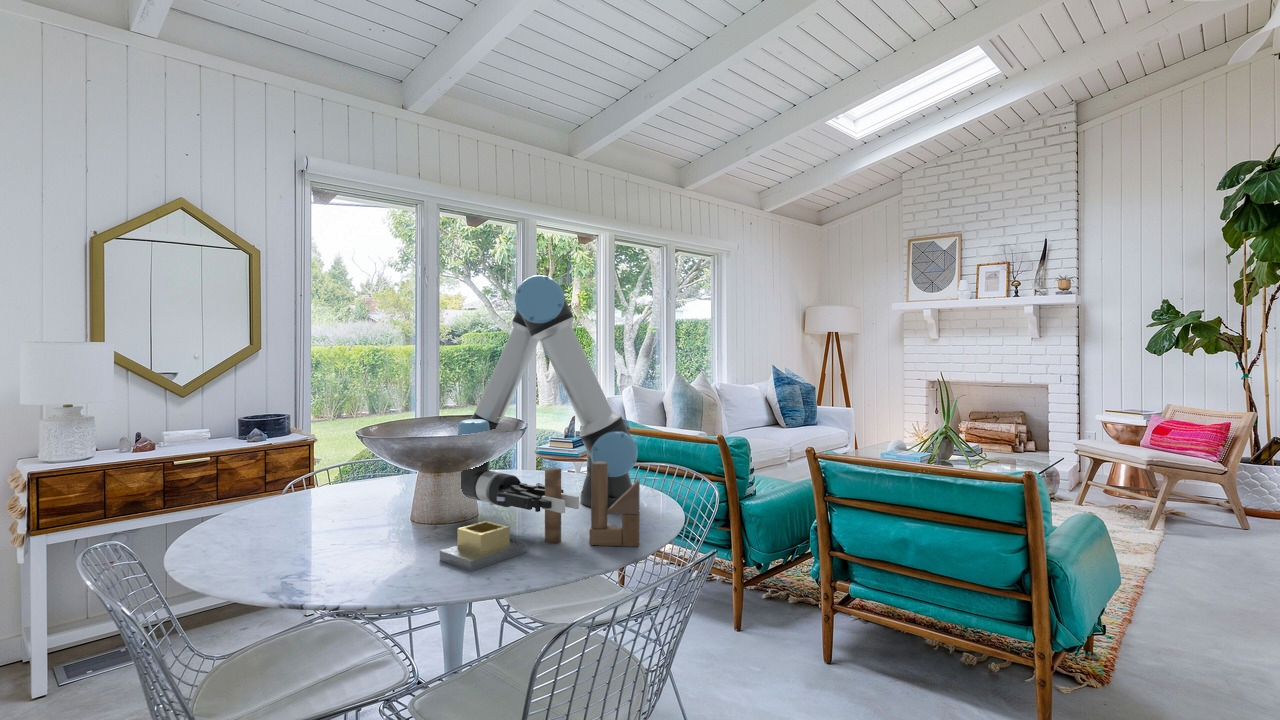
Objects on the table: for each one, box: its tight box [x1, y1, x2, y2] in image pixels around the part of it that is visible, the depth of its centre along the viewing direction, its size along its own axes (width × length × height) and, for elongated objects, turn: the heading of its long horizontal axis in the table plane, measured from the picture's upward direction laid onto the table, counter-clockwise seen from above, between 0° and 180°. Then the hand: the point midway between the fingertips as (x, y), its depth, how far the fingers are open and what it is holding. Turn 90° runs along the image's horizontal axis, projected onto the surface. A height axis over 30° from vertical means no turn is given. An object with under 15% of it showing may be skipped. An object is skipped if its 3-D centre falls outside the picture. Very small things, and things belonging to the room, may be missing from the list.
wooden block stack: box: [588, 461, 641, 547], centre depth 139 cm, size 4×11×18 cm, turn 87°
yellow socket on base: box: [439, 520, 527, 572], centre depth 131 cm, size 14×10×6 cm
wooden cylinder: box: [544, 467, 562, 545], centre depth 141 cm, size 4×4×16 cm
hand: (570, 504), depth 138 cm, fingers closed on wooden cylinder, 3 cm apart
